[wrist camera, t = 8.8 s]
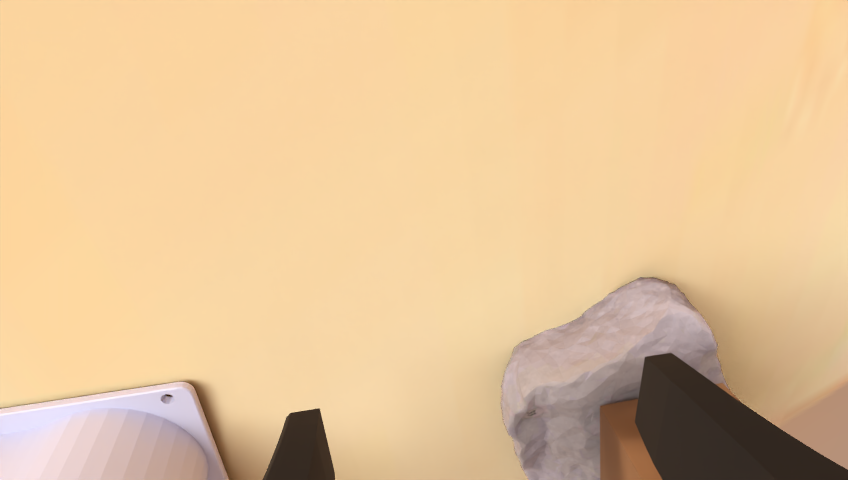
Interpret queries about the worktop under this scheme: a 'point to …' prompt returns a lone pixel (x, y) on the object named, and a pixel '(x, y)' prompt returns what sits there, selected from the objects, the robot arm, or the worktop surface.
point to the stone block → (595, 374)
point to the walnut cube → (625, 443)
